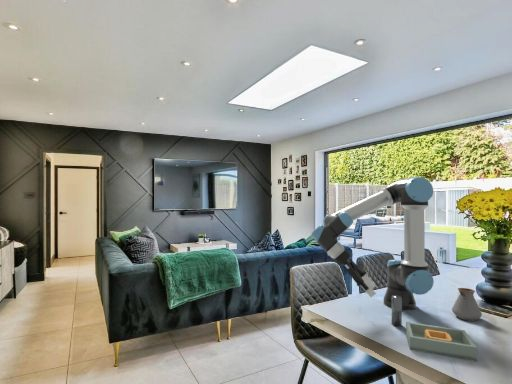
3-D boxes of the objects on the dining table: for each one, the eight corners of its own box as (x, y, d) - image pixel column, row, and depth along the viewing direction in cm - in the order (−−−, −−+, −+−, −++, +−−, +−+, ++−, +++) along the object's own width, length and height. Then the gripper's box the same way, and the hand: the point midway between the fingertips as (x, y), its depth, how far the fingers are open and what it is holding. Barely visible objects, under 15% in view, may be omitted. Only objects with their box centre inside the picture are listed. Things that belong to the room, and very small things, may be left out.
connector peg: (391, 322, 135) (391, 294, 135) (401, 323, 133) (401, 295, 134) (391, 325, 131) (391, 297, 132) (402, 327, 130) (402, 298, 130)
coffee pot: (454, 311, 150) (454, 280, 151) (483, 317, 143) (483, 285, 143) (445, 323, 134) (445, 289, 135) (477, 331, 127) (477, 294, 127)
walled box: (406, 333, 124) (406, 321, 124) (464, 342, 116) (464, 330, 117) (409, 349, 110) (409, 336, 110) (476, 361, 102) (476, 347, 103)
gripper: (336, 255, 154) (368, 289, 148) (329, 264, 131) (366, 304, 125) (347, 245, 152) (380, 279, 147) (342, 252, 129) (380, 293, 123)
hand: (373, 291), depth 136 cm, fingers open, 13 cm apart
